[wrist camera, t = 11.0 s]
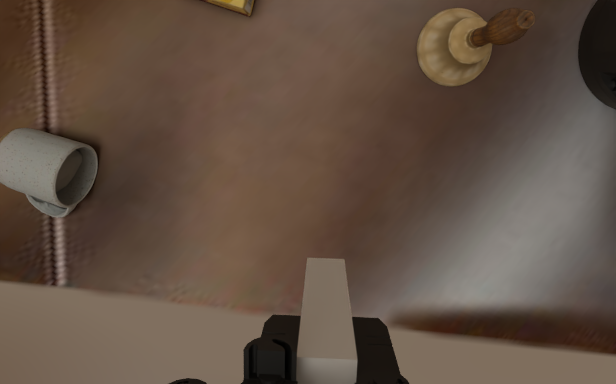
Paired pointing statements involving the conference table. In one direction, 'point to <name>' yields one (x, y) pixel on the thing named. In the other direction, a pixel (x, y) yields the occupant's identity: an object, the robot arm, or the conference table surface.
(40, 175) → the ceramic mug
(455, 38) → the hand bell
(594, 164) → the conference table surface
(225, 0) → the candy box
